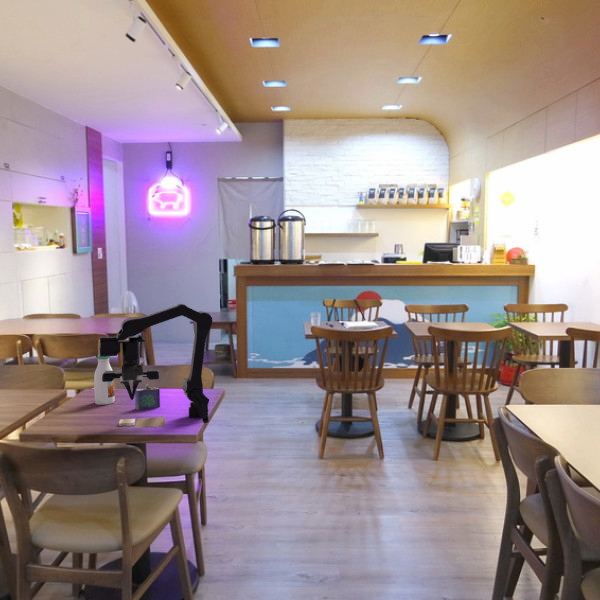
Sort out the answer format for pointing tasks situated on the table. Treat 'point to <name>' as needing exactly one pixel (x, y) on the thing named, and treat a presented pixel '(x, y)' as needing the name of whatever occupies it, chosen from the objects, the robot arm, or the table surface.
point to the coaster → (126, 422)
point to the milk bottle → (103, 383)
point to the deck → (150, 422)
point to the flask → (147, 398)
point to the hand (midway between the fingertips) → (132, 399)
